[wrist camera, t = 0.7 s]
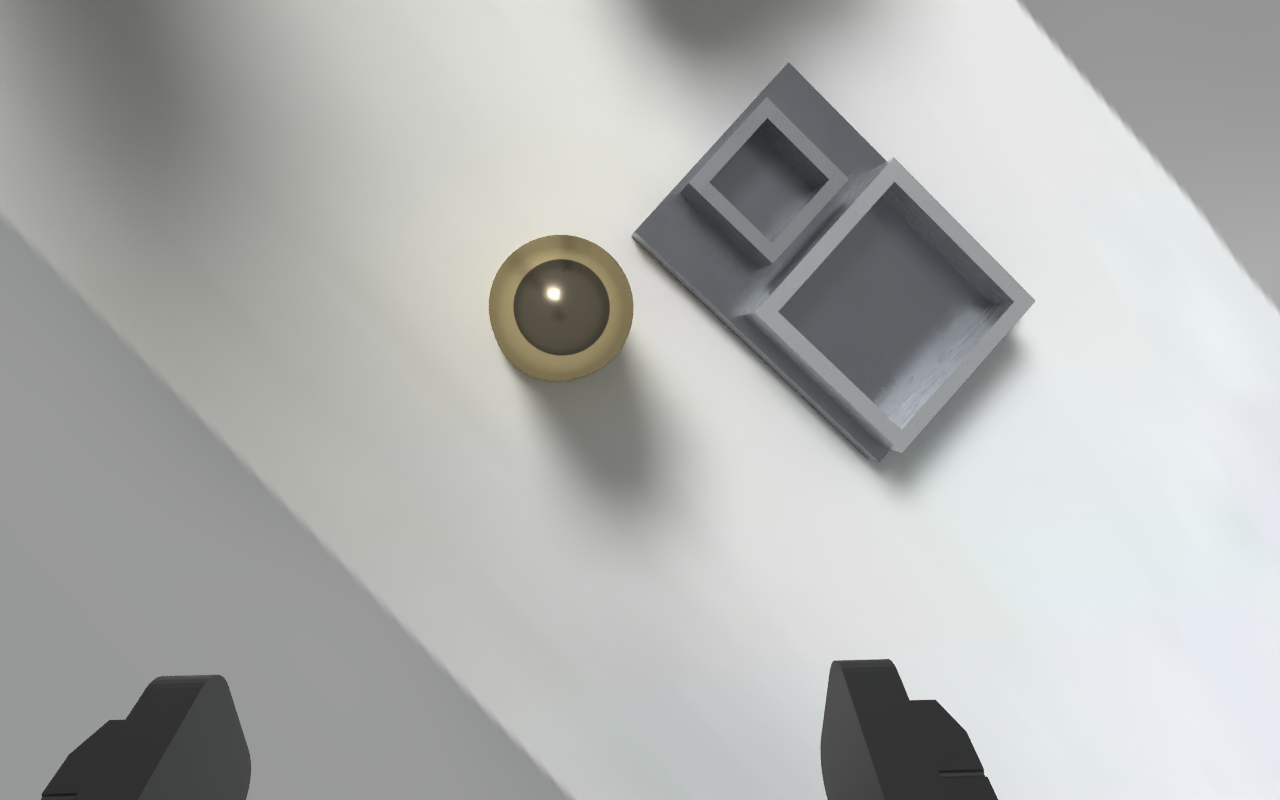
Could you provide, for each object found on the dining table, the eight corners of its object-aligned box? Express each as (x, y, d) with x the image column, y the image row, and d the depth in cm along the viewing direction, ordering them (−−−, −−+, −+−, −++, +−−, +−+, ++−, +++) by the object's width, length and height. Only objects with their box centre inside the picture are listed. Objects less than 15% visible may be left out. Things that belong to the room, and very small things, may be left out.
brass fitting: (467, 322, 36) (445, 312, 27) (551, 231, 37) (555, 191, 28) (560, 405, 37) (567, 421, 28) (641, 315, 37) (675, 302, 28)
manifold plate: (631, 235, 37) (640, 224, 34) (780, 71, 37) (803, 45, 34) (868, 458, 39) (898, 467, 36) (1007, 300, 39) (1049, 295, 36)
